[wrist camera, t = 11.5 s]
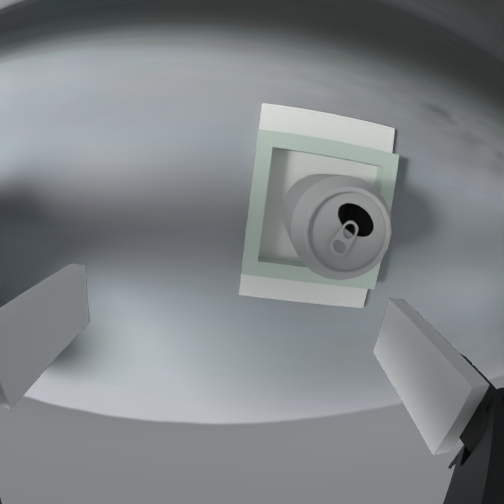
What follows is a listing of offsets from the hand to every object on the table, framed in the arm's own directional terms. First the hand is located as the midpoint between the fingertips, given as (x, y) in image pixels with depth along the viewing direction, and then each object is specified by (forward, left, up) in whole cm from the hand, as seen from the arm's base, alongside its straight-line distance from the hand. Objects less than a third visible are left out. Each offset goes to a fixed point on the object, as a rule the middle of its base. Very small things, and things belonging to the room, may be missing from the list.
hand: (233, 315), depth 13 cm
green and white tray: (+7, +3, -21) cm, 22 cm away
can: (+7, +3, -20) cm, 22 cm away
